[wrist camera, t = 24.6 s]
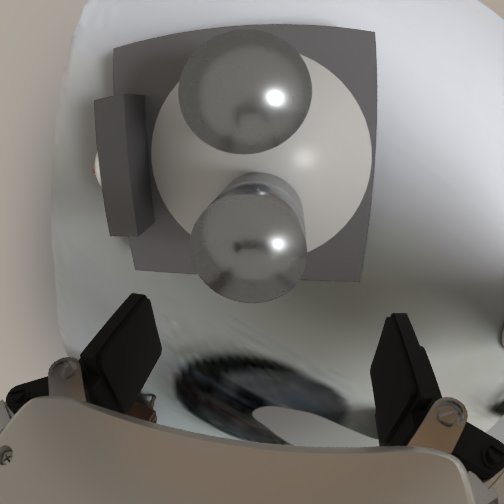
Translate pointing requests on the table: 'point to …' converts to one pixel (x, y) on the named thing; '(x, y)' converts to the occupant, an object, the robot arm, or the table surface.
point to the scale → (235, 165)
